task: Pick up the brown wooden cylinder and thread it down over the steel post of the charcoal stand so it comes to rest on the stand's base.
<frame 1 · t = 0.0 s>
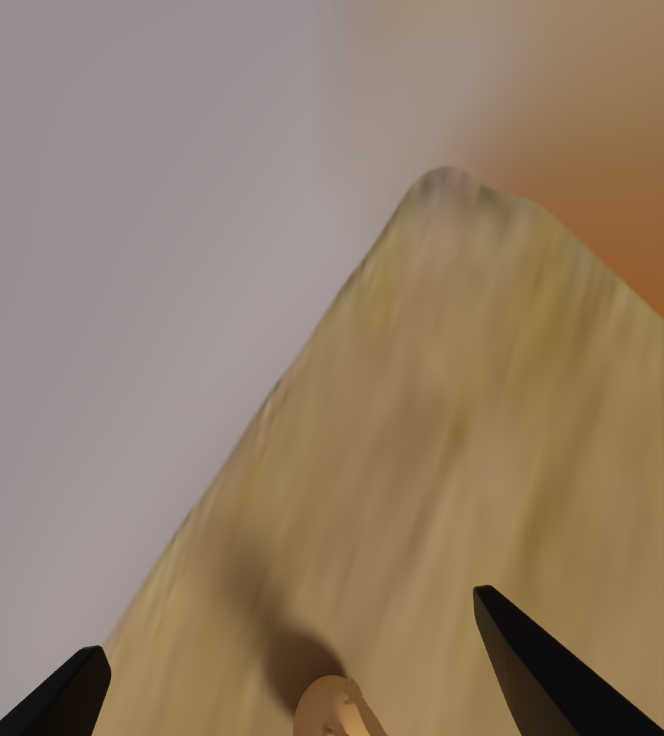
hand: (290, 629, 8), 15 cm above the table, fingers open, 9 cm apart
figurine: (351, 700, 19), on the table
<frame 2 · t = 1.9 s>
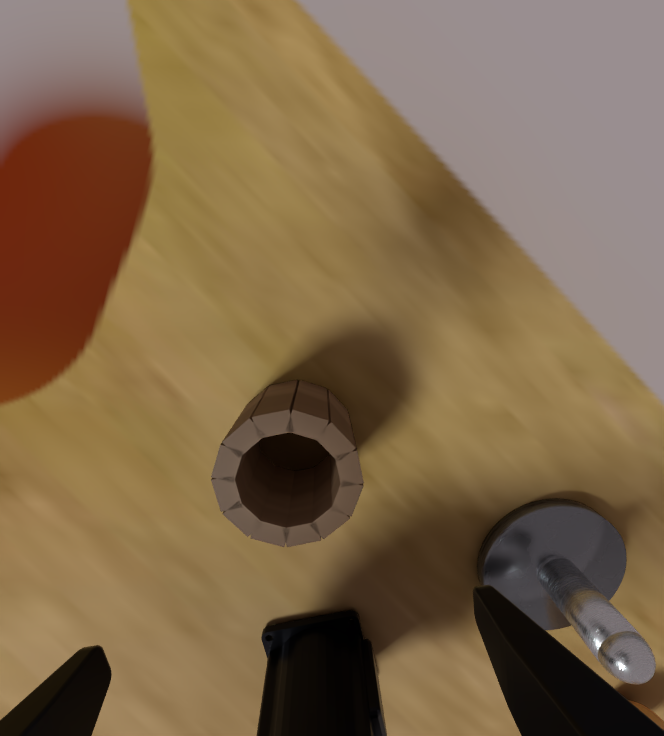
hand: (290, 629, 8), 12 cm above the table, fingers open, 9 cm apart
brown wooden cylinder: (296, 435, 20), on the table
post stand: (545, 559, 22), on the table
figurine: (607, 712, 26), on the table
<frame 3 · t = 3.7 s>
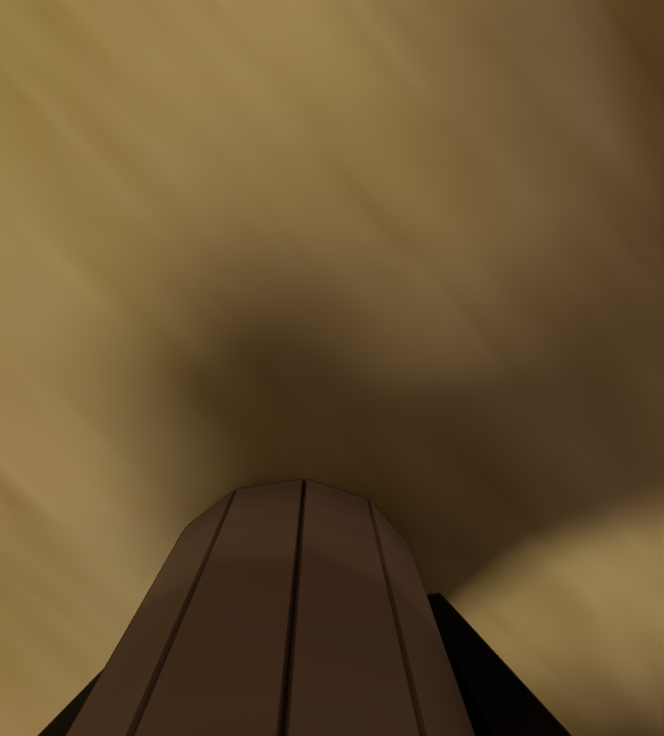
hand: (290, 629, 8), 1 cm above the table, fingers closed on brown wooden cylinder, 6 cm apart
brown wooden cylinder: (293, 591, 9), on the table, touching gripper
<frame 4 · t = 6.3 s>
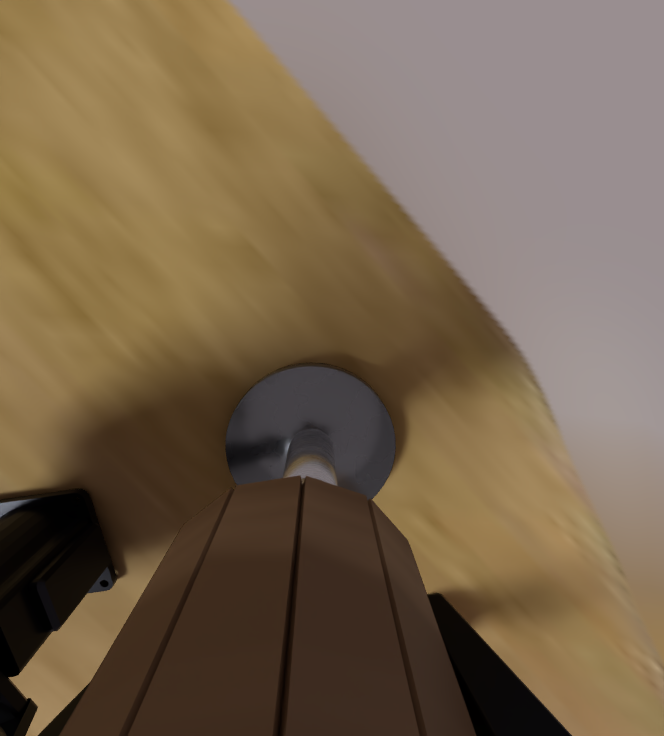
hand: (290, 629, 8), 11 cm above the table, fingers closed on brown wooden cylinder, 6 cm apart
brown wooden cylinder: (292, 588, 9), point 10 cm above the table, touching gripper
post stand: (311, 441, 19), on the table
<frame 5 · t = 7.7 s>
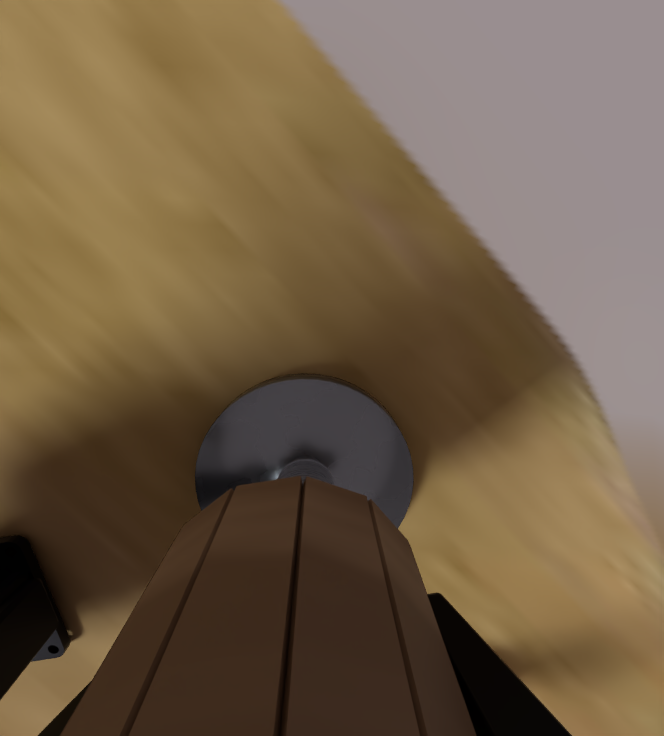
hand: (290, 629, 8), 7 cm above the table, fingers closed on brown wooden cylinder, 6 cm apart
brown wooden cylinder: (292, 588, 9), point 6 cm above the table, touching gripper
post stand: (306, 472, 15), on the table
when the fingers open (3 cm above the table, at t = 9.0 s): brown wooden cylinder drops 1 cm, resting on post stand.
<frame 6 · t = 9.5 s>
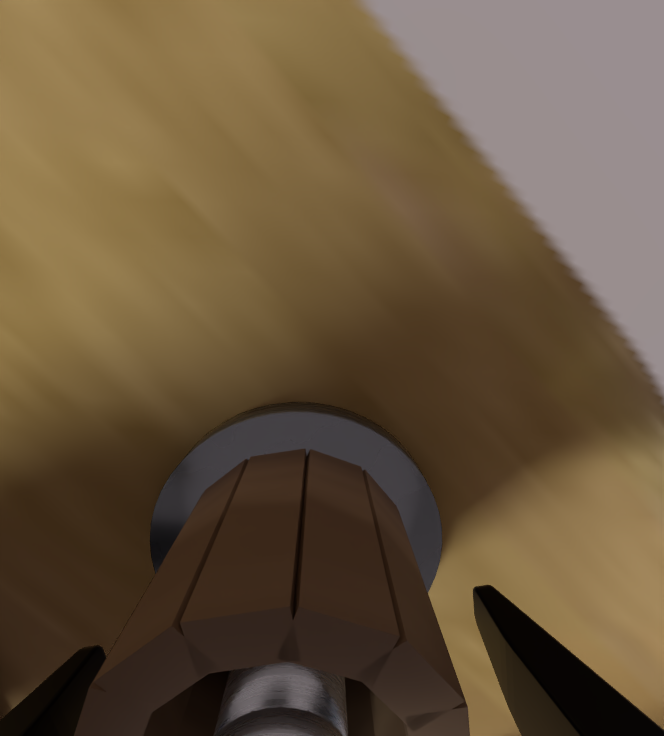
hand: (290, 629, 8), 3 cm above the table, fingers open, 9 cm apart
brown wooden cylinder: (297, 547, 10), point 1 cm above the table, touching post stand
post stand: (300, 528, 11), on the table
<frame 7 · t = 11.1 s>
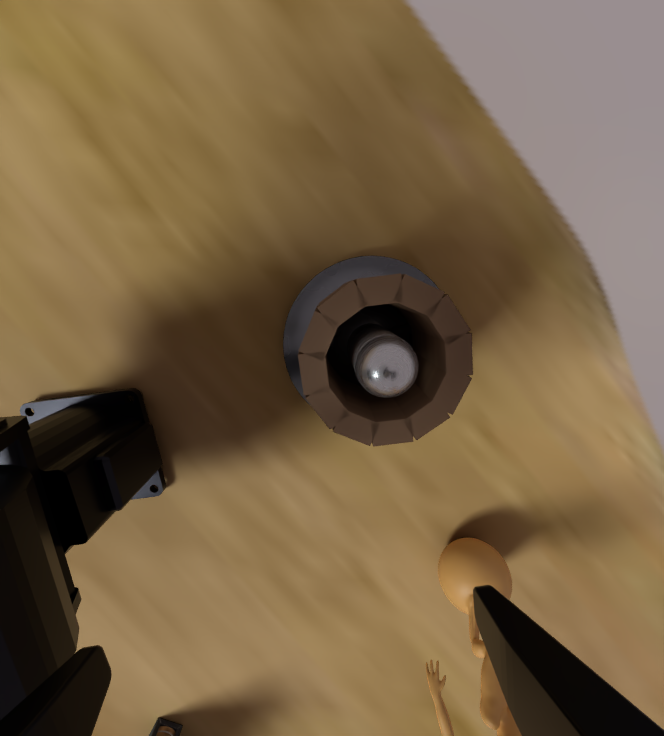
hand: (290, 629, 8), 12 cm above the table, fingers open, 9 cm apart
brown wooden cylinder: (369, 344, 18), point 1 cm above the table, touching post stand
post stand: (367, 343, 19), on the table
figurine: (451, 560, 22), on the table
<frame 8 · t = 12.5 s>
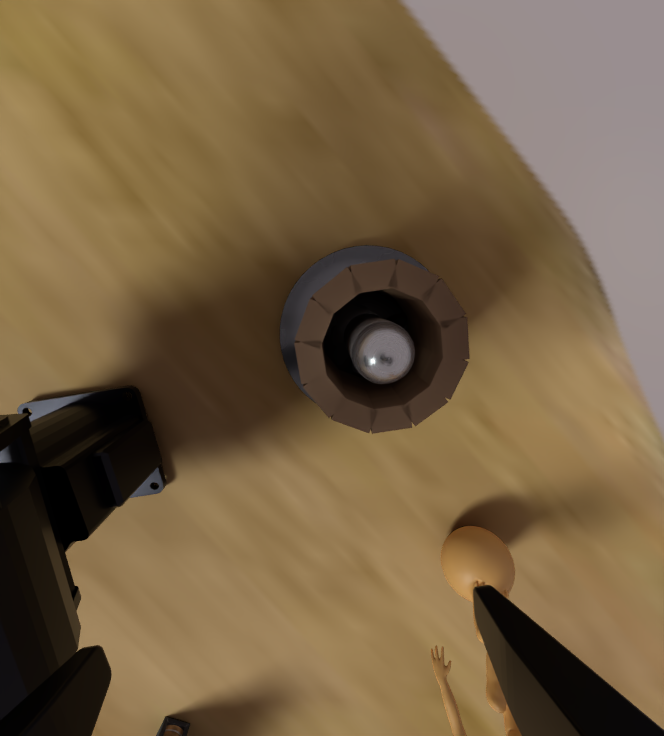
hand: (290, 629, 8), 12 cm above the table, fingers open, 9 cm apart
brown wooden cylinder: (365, 334, 18), point 1 cm above the table, touching post stand
post stand: (364, 334, 19), on the table
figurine: (453, 549, 22), on the table
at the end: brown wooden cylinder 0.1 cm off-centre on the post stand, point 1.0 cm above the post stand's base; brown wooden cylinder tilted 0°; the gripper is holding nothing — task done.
